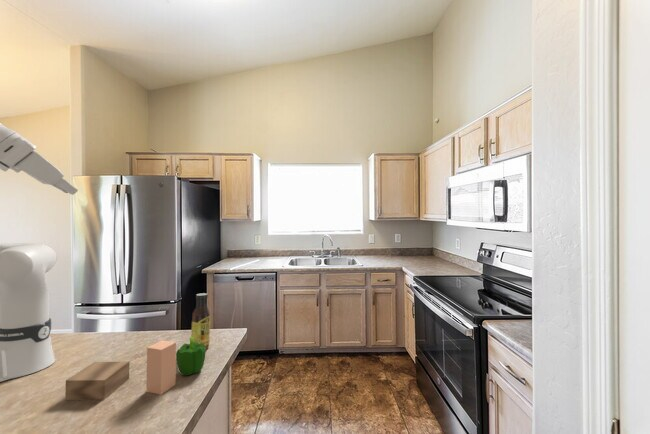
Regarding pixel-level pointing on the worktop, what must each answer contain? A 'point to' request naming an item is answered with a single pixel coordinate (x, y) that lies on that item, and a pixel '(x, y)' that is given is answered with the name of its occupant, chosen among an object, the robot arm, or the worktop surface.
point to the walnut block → (97, 381)
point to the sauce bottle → (201, 321)
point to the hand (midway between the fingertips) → (72, 192)
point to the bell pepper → (190, 357)
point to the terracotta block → (161, 366)
